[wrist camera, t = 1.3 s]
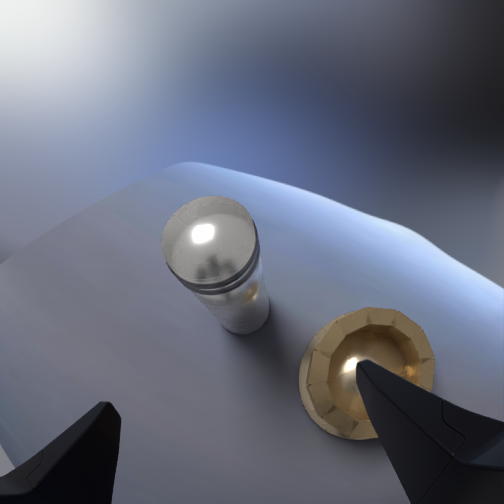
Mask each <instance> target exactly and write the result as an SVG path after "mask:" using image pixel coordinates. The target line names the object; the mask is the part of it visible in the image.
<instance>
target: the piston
mask: <svg viewBox="0 0 504 504" xmlns="http://www.w3.org/2000/svg"><path fill="white" fill-rule="evenodd" d="M161 248H162V253H163V256H164V258H165V261H166V263H167V265H168V267H169V269H170V270H171V272H172V273H173V274H174V275H175V276H176V277H177V279H178V280H179V281H180V282H181V283H182V284H183V285H184V286H185V287H187V288H188V289H190V290H191V291H192V293H193V294H194V295H195V296H196V297H197V298H198V299H199V300H200V301H201V302H202V304H203V305H204V306H205V307H206V308H207V309H208V310H209V311H210V312H211V313H212V314H213V316H214V317H215V318H216V319H217V320H218V321H219V322H220V323H221V324H222V325H223V326H224V327H225V328H226V329H227V330H229V331H231V332H233V333H236V334H249V333H252V332H254V331H256V330H258V329H259V328H261V327H262V326H263V324H264V323H265V322H266V320H267V318H268V315H269V301H268V296H267V290H266V285H265V280H264V275H263V270H262V265H261V260H260V245H259V239H258V233H257V229H256V226H255V223H254V221H253V219H252V218H251V216H250V214H249V212H248V211H247V210H246V208H245V207H244V206H243V205H241V204H240V203H239V202H237V201H235V200H233V199H230V198H227V197H223V196H206V197H201V198H198V199H195V200H193V201H191V202H189V203H187V204H185V205H184V206H182V207H181V208H180V209H178V210H177V211H176V212H175V213H174V214H173V215H172V217H171V218H170V219H169V221H168V222H167V224H166V226H165V228H164V231H163V234H162V239H161Z"/></svg>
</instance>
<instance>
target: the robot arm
mask: <svg viewBox="0 0 504 504" xmlns="http://www.w3.org/2000/svg"><path fill="white" fill-rule="evenodd" d="M356 383H357V387H358V389H359V392H360V395H361V397H362V400H363V403H364V406H365V409H366V411H367V414H368V417H369V420H370V422H371V424H372V426H373V428H374V430H375V432H376V434H377V436H378V438H379V440H380V441H381V443H382V445H383V447H384V449H385V451H386V453H387V455H388V457H389V459H390V461H391V463H392V465H393V468H394V470H395V472H396V474H397V476H398V478H399V480H400V482H401V484H402V486H403V488H404V490H405V492H406V494H407V496H408V498H409V501H410V503H411V504H504V422H502V421H499V420H495V419H492V418H489V417H486V416H483V415H480V414H477V413H474V412H471V411H469V410H466V409H464V408H461V407H459V406H457V405H455V404H453V403H451V402H449V401H447V400H445V399H444V400H443V399H442V398H440V397H438V396H437V395H435V394H433V393H431V392H429V391H427V390H425V389H423V388H421V387H419V386H417V385H415V384H413V383H411V382H410V381H408V380H406V379H404V378H402V377H400V376H398V375H396V374H395V373H393V372H391V371H389V370H387V369H385V368H384V367H382V366H380V365H378V364H376V363H374V362H373V361H371V360H369V359H365V360H362V361H359V362H357V363H356ZM120 430H121V417H120V415H119V413H118V412H117V411H116V409H115V408H114V406H113V405H112V404H111V403H110V402H99V403H98V404H97V405H96V406H94V407H93V408H92V409H91V410H90V411H88V412H87V413H86V414H85V415H84V416H82V417H81V418H80V419H79V420H78V421H76V422H75V423H74V424H73V425H71V426H70V427H69V428H68V429H67V430H65V431H64V432H63V433H62V434H60V435H59V436H58V437H57V438H56V439H54V440H53V441H52V442H51V443H49V444H48V445H47V446H46V447H44V449H42V450H41V451H39V452H38V453H37V454H36V455H34V456H33V457H32V458H30V459H29V460H27V461H26V462H25V463H23V464H22V465H20V466H18V467H17V468H15V469H14V470H12V471H11V472H9V473H8V474H6V475H4V476H2V477H0V504H111V502H112V494H113V487H114V480H115V473H116V467H117V461H118V454H119V443H120Z"/></svg>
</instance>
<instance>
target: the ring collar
mask: <svg viewBox="0 0 504 504" xmlns="http://www.w3.org/2000/svg"><path fill="white" fill-rule="evenodd" d="M420 329H421V327H420V326H419V325H417V324H416V323H415V322H413V321H412V320H411V319H409V318H408V317H407V316H405V315H404V314H403V313H401V312H400V311H397V310H394V309H383V308H373V307H367V308H363V309H361V310H358V311H353V312H349V313H346V314H344V315H341V316H339V317H337V318H335V319H333V320H332V321H330V322H329V323H328V324H326V325H325V326H324V327H323V328H322V329H321V330H320V331H319V332H318V333H317V334H316V335H315V336H314V338H313V339H312V341H311V342H310V343H309V345H308V347H307V349H306V351H305V353H304V355H303V358H302V360H301V364H300V368H299V376H298V385H299V392H300V397H301V400H302V403H303V405H304V407H305V409H306V411H307V412H308V414H309V415H310V417H311V418H312V419H313V420H314V421H315V422H316V423H317V424H318V425H319V426H320V427H321V428H323V429H324V430H325V431H327V432H329V433H331V434H333V435H335V436H338V437H341V438H345V439H352V440H365V439H370V438H378V436H377V434H376V432H375V430H374V428H373V426H372V424H371V422H370V420H369V417H368V414H367V411H366V409H365V406H364V403H363V400H362V397H361V395H360V392H359V389H358V387H357V383H356V363H357V362H359V361H362V360H365V359H369V360H371V361H373V362H374V363H376V364H378V365H380V366H382V367H384V368H385V369H387V370H389V371H391V372H393V373H395V374H396V375H398V376H400V377H402V378H404V379H406V380H408V381H410V382H411V383H413V384H415V385H417V386H419V387H421V388H423V389H425V390H427V391H429V392H431V391H430V390H431V389H432V386H433V376H434V364H435V358H433V357H434V354H433V351H432V349H431V347H430V344H429V342H428V340H427V337H426V335H425V333H424V331H423V329H422V330H420Z"/></svg>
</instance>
